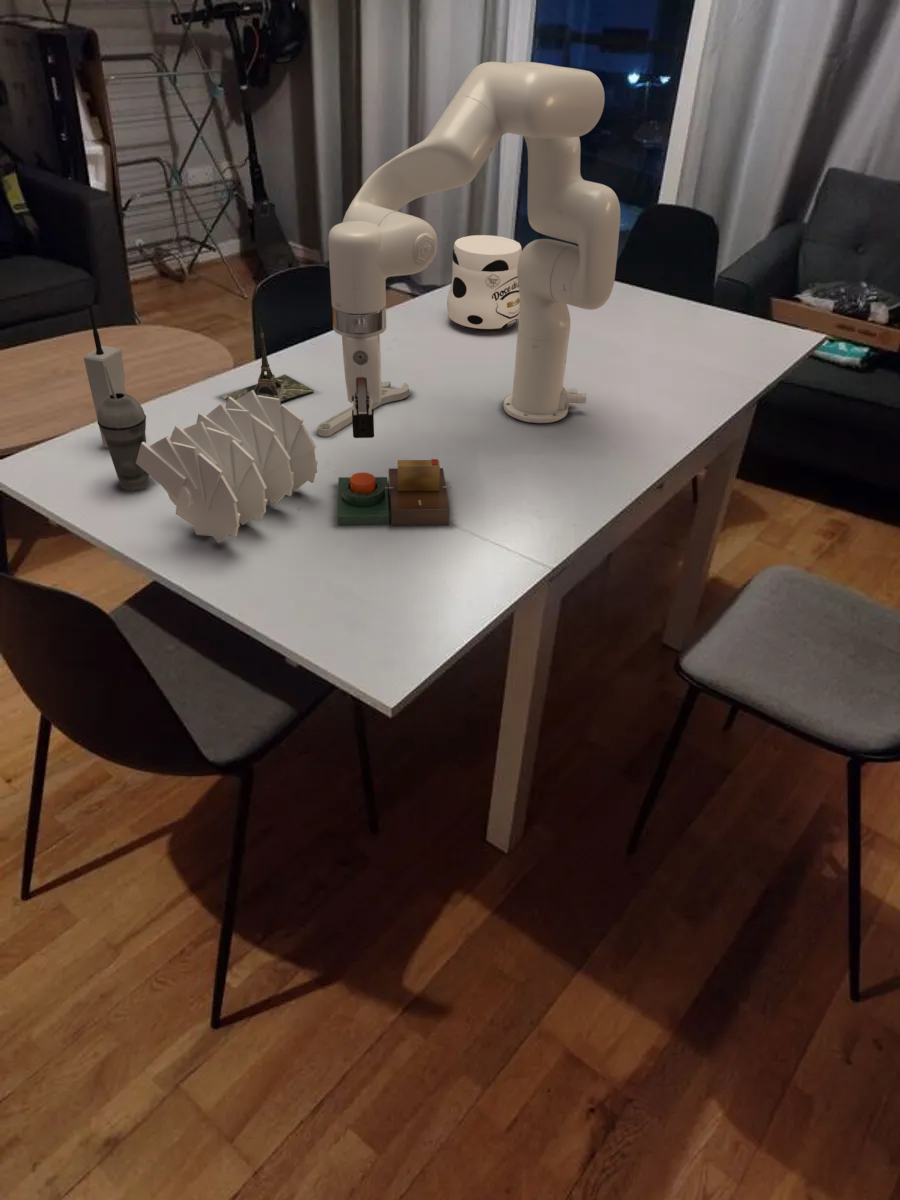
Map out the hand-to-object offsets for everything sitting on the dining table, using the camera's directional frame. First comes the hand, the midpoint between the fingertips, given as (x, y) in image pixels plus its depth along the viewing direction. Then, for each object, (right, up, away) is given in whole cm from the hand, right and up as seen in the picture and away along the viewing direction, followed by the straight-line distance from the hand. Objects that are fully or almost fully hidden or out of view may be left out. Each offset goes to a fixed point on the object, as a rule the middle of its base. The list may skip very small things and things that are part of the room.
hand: (363, 435), depth 135 cm
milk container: (+21, +40, +73) cm, 86 cm away
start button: (-1, -7, +5) cm, 9 cm away
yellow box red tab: (+8, -7, +6) cm, 13 cm away
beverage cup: (-38, -6, +10) cm, 40 cm away
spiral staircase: (-19, -11, +4) cm, 23 cm away
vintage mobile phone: (-45, +2, +20) cm, 49 cm away
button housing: (-1, -10, +7) cm, 12 cm away
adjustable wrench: (-4, +11, +34) cm, 36 cm away
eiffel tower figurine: (-22, +15, +38) cm, 47 cm away
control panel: (+8, -10, +8) cm, 15 cm away
